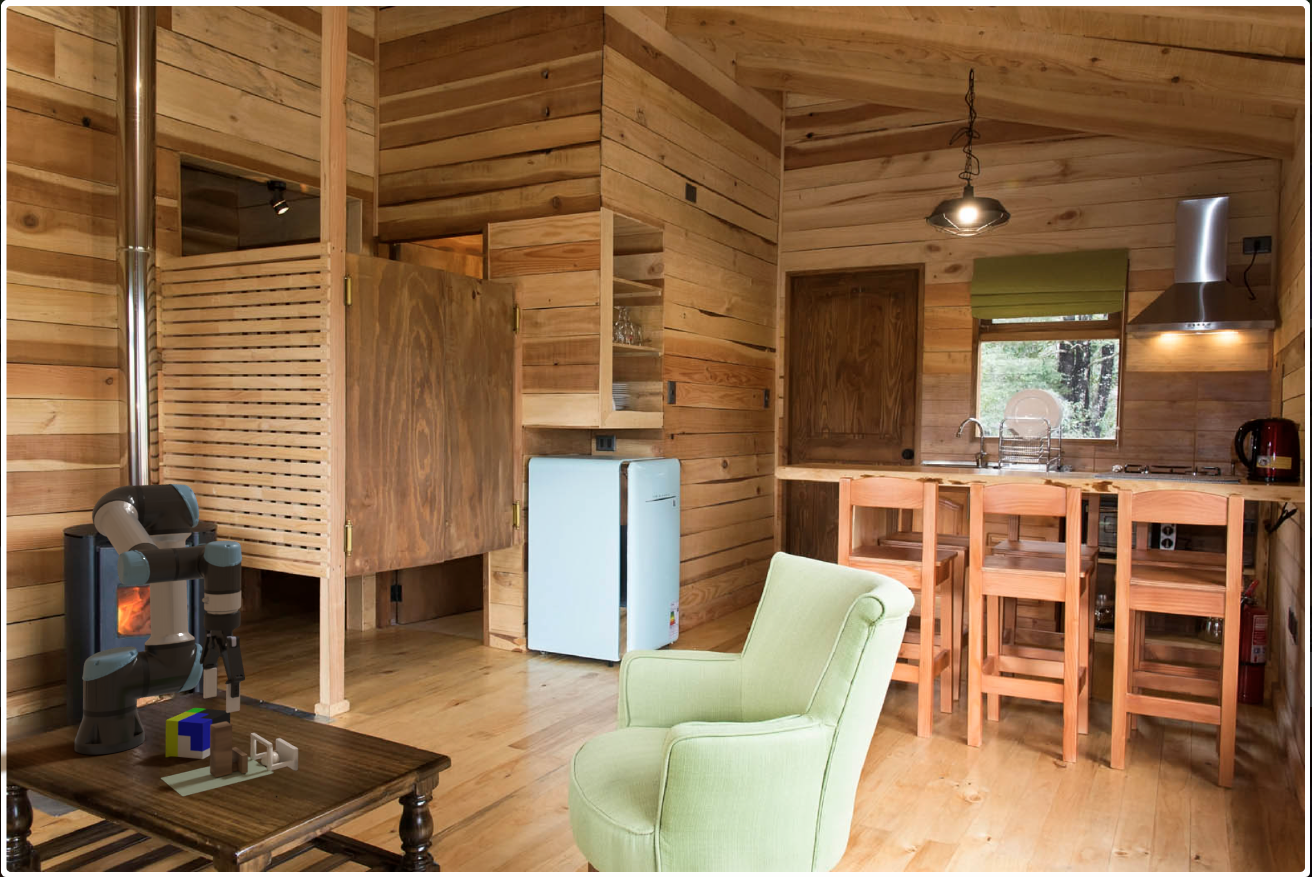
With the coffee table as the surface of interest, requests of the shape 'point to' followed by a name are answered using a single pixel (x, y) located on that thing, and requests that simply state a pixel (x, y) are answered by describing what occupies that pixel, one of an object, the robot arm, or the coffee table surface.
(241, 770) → the kicker
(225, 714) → the puzzle toy
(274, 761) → the ball
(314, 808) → the coffee table surface
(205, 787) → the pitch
